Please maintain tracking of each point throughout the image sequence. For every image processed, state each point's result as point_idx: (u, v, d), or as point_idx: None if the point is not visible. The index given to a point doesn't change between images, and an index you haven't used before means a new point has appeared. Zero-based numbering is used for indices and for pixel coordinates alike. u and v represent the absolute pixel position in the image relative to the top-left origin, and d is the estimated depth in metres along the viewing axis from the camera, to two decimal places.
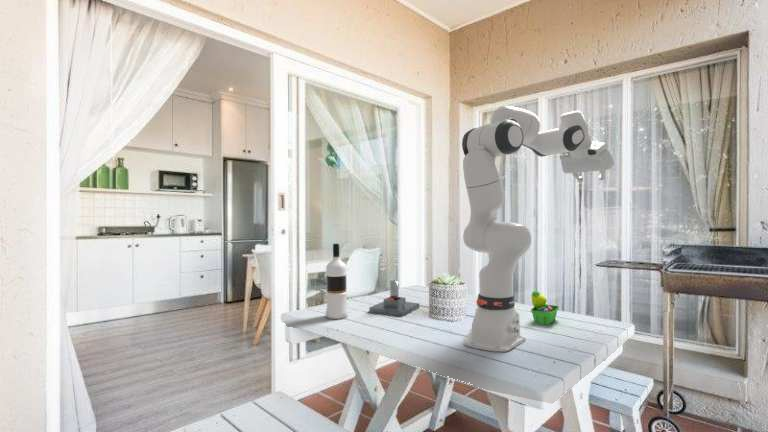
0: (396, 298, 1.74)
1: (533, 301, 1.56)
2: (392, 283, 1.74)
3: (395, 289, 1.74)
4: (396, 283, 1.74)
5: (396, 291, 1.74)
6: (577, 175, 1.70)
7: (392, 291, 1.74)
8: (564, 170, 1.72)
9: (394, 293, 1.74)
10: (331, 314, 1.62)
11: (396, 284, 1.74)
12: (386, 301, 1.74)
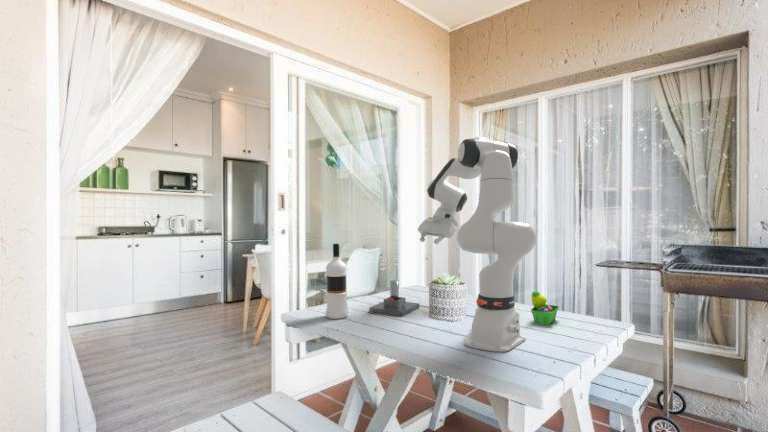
0: (396, 298, 1.74)
1: (533, 301, 1.56)
2: (392, 283, 1.74)
3: (395, 289, 1.74)
4: (396, 283, 1.74)
5: (396, 291, 1.74)
6: (423, 236, 1.92)
7: (392, 291, 1.74)
8: (419, 227, 1.96)
9: (394, 293, 1.74)
10: (331, 314, 1.62)
11: (396, 284, 1.74)
12: (386, 301, 1.74)
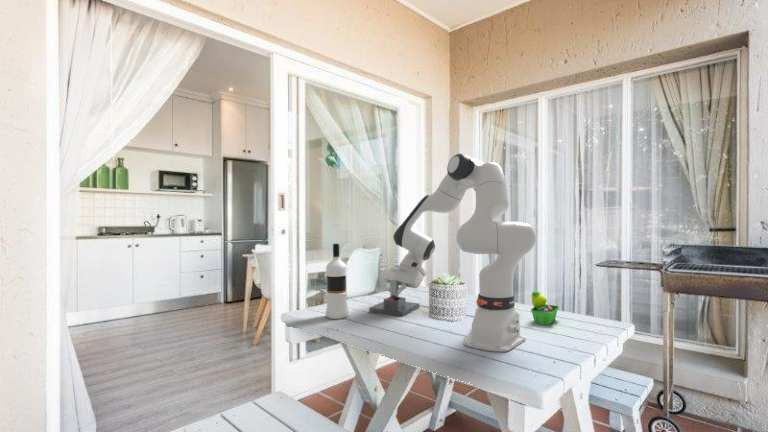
0: (396, 298, 1.74)
1: (533, 301, 1.56)
2: (392, 283, 1.74)
3: (395, 289, 1.74)
4: (396, 283, 1.74)
5: None
6: None
7: (392, 291, 1.74)
8: (385, 275, 1.84)
9: (394, 293, 1.74)
10: (331, 314, 1.62)
11: (396, 284, 1.74)
12: (386, 301, 1.74)
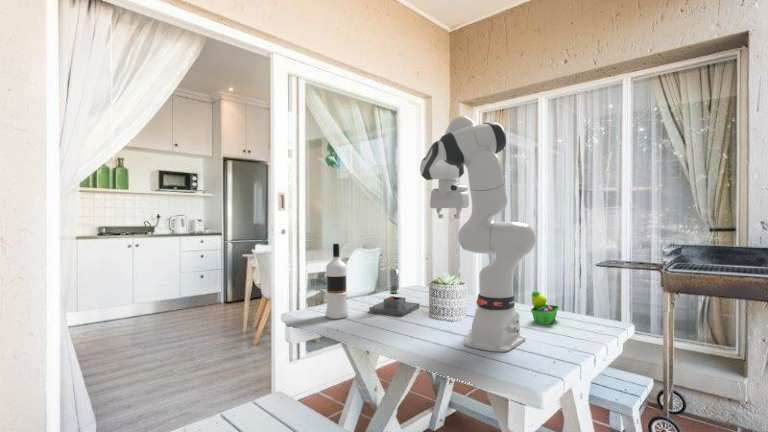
0: (396, 286, 1.74)
1: (533, 301, 1.56)
2: (392, 271, 1.74)
3: (395, 277, 1.74)
4: (396, 272, 1.74)
5: (396, 279, 1.74)
6: (439, 212, 1.87)
7: (392, 279, 1.74)
8: (431, 204, 1.88)
9: (394, 281, 1.74)
10: (331, 314, 1.62)
11: (396, 272, 1.74)
12: (386, 301, 1.74)
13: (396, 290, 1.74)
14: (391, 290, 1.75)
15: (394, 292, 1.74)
